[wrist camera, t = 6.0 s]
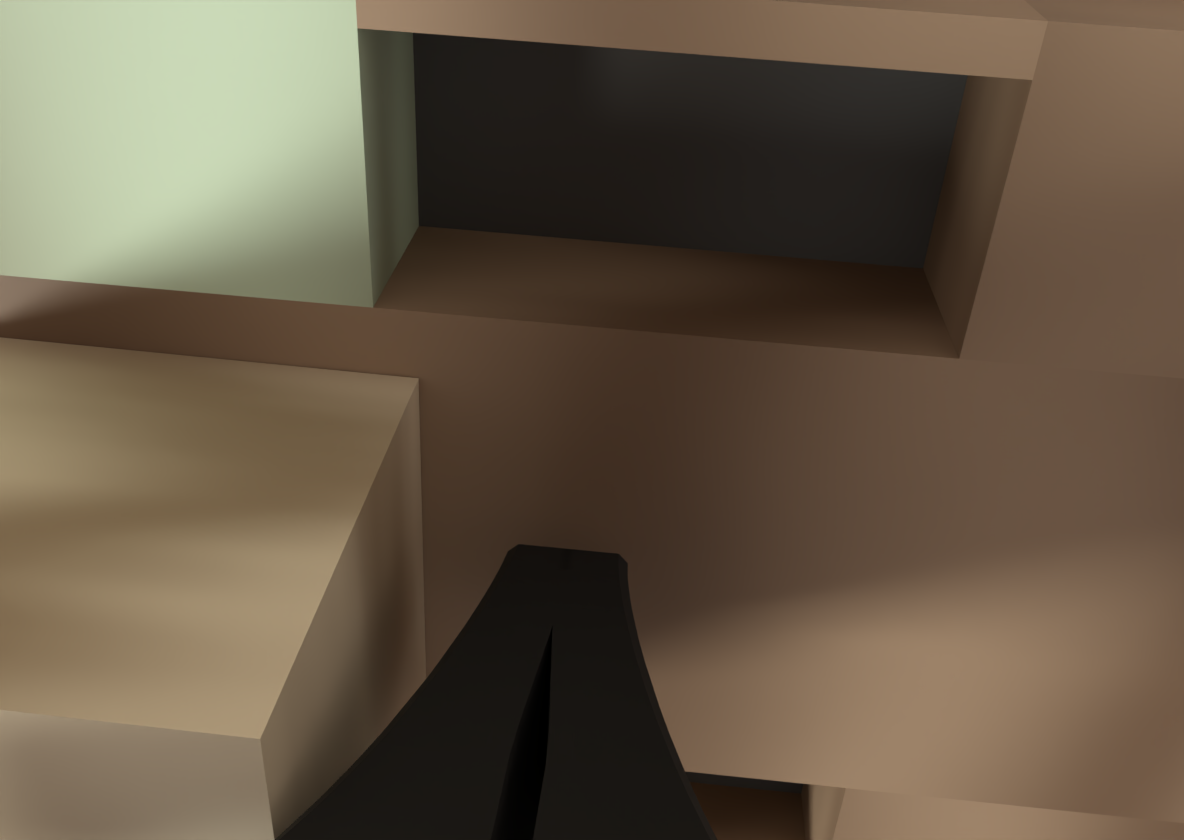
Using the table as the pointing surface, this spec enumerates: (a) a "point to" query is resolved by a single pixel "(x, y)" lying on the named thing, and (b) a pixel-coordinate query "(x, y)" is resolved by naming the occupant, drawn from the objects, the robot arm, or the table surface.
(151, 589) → the maple block
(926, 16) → the trap board
